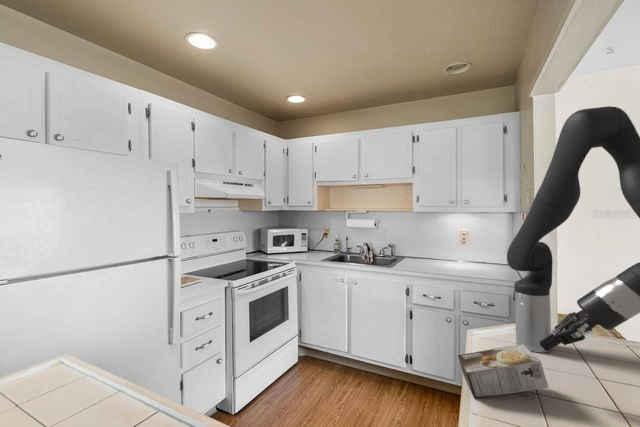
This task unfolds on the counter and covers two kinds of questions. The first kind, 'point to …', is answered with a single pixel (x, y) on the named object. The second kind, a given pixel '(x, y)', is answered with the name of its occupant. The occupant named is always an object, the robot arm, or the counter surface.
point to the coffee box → (502, 371)
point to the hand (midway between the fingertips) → (542, 346)
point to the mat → (524, 393)
